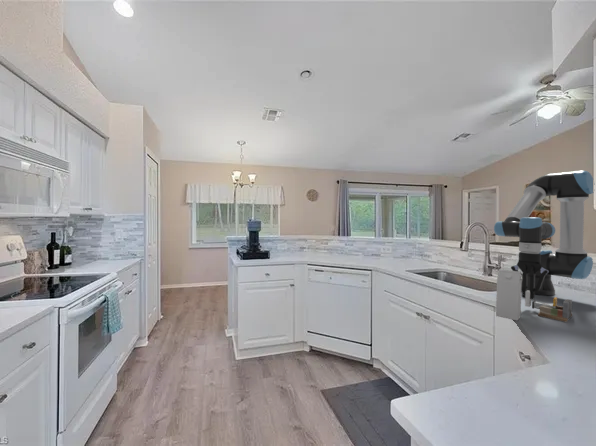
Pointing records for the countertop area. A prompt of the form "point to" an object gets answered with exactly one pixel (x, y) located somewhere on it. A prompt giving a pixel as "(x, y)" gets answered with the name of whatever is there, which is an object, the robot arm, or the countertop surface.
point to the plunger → (538, 304)
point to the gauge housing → (558, 311)
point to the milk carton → (508, 294)
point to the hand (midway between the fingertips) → (528, 305)
